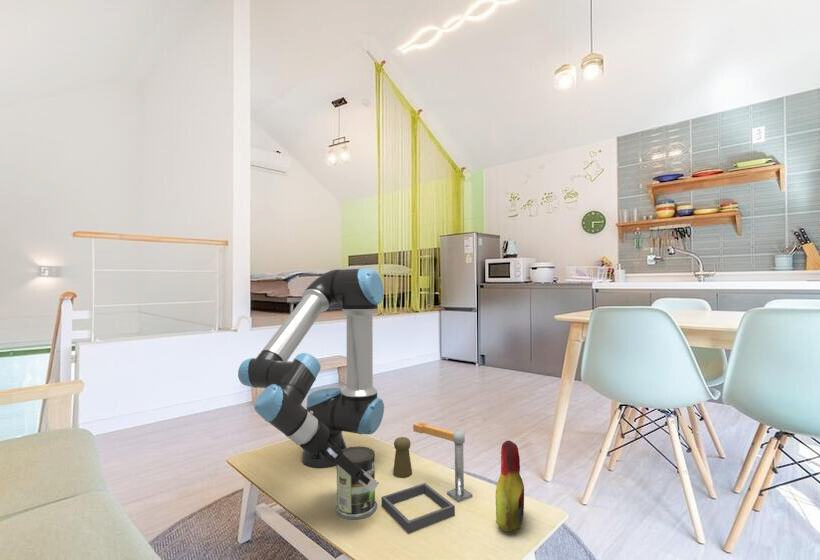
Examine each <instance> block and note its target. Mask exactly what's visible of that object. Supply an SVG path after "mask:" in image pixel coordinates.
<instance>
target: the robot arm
mask: <svg viewBox="0 0 820 560" xmlns="http://www.w3.org/2000/svg"><path fill="white" fill-rule="evenodd" d="M384 293H385V290H384V282H383V280H382V278H381V276H380V275H379V273H378V272H377V271H376V270H374V269H371V268H352V269H349V268H347V269H333V270H332V269H331V270H329V271H327V272H325V273H323V274H322V275H320V276H318V277H317V278H316V279H314V280H313V281H312V282H311V283H310V284H309V285H308V286H307V287H306V289H305V290H304V291H303V293H302V294H301V295H302V296H301V297H302V299H301V300H300V302H299V303H298V304H297V305H296V307H294V309H293V310H292V311H291V313H290V314H289V315H288V317H287V318H286V319H285V320H284V322H283V323H282V324H281V326H280V327H279V328H278V329H277V330H276V332H275V333H274V335H273V336H271V339H270V340H269V341H268V342H267V344H266V345H265V346H264V348H263V349H262V350H261V351H260V353H258V355H257V357H251V358H247V359H245V360H243V361H242V362H241V364H240V365H239V367H238V369H237V370H238V371H237V377H238V379H239V382H240V384H242V385H243V386H246V387H250V388H251V387H252V388H255V389H258V388H260V389H263V390H262V391H261V392H260V394H259V395H258V396H257V398H256V399H255V402H254V406H253V408H254V411H255V412H256V414H258V415H259V417H261V418H262V419H263V420H264V421H265V422H266V423H269V424H270V425H271V426H273V427H275V429H277V430H278V431H280V432H281V433H283V434H284V435H285V437H286V438H288V439H289V440H290V441H292V442H293V443H294V444H295V445H297V446H298V447H300V448H301V449H303V450H302V453H301V455H302V458H301V461H302V463H303V464H304V465H305V464H306V465H305V466H307V465H308V466H307V467H310V466H311V467H310V468H319V467H322V468H328V467H333V466H334V467H335V466H337V464H338V465H339V466H340V467H341V468H342V469H343V470H345V471H346V472H347V473H348V474H349V475H351V476H352V477H353V478H354V480H353V482H354V483H355V482H356V481H358V482H359V483H361V484H362V485H363V486H364V487H366V488H367V489H368V490H370V491H371V492H372V493H373V491H374V490H376V488H377V487H378V485H379V483H380V482H378V481H377V480H376V479H373V478H372V477H371V476H370V475H368V474H367V473H366V472H365V471H363V470H362V469H360V468H359V467H357V466H356V465H355V464H354V463H353V462H352V461H350V460H349V459H348V458H347V457H346V456H345V455H343V451H342V450H343V449H345V448H347V445H346V442H345V440H344V436H343V434H342V433H343V432H346V433H353V434H358V435H367V436H368V435H373V434H374V433H375V432H376V431H377V430H378V429H379V428H380V426H381V423H382V421H383V419H384V414H385V402H384V400H383V399H382V398H381V397H378V390H377V389H376V387H374V385H373V384H374V383H373V382H374V381H373V378H374V377H373V373H374V372H373V364H374V363H373V362H374V361H373V357H374V356H373V354H374V353H373V352H374V351H373V343H374V342H373V337H374V336H373V315H374V313H375V312H376V311H377V310H378V305H380V304H381V303H382V302H383V300H384V299H383V297H384V295H385V294H384ZM336 304H339V305H340V304H341V310H342V311H343V312H344V313H345V316H346V386H345V388H344V389H343V390H342V389H341V388H339V387H329V388H327V387H326V388H322V389H318V390H315V391H313V392H311V393H309V391H310V390H311V388H312V386H313V384H314V382H316V380H317V377H318V376H319V373H320V371H321V363H320V361H319V360H318V358H316V357H315V356H314V355H312V354H310V353H307V352H301V353H299V354H297V355H296V356H295V357H294V358H293V360H292V361H290V360H289V359H290V358H291V356H292V355H293V354H294V352H295V351H296V350H297V348H298V346H299V345H300V344H301V342H302V341H303V339H304V337H306V335H307V333H308V332H309V331H310V329H311V328H312V327H313V325H314V324H315V322H316V321H317V319H318V318H319V317H320V316H321V314H322V313H324V312H326V311H327V310H329V308H330V306H333V305H336ZM308 393H309V395H308ZM306 397H307V398H306ZM305 398H306V399H307V400H306V408H305V407H304V406H303V405H302V403H303V402H304V400H305ZM319 469H320V468H319Z"/></svg>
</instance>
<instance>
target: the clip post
mask: <svg viewBox="0 0 820 560" xmlns="http://www.w3.org/2000/svg"><path fill="white" fill-rule="evenodd" d="M464 465H465V464H464V443H462V444H456V443H454V481H455V483H454V484H455V485H454V486H455V487H454V488H453V489H451V490H447V491H446V495H448V496H449V497H450V498H452V500H454V501H456V502H457V503H460V502H463V501H465V500H468V499H471V498H473V494H472V493H471V492H470V491H468V490H467V489H465V486H464V485H465V484H464V483H465V477H464V475H465V474H464V473H465V471H464V470H465V467H464Z"/></svg>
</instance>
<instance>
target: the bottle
mask: <svg viewBox="0 0 820 560" xmlns="http://www.w3.org/2000/svg"><path fill="white" fill-rule="evenodd" d="M520 464H521V461H520V453H519V447H518V445H517V444H516V443H515V442H513V441H512V440H506V441H504V442H503V443H502V444H501V450H500V475H499V478H498V480H497V483H496V487H495V523H496V525H497V526H498V527H499V528H500V529H502V530H503V531H505V532H517V531H518V530H520V528H521V526H522V522H523V519H524V513H525V511H524V509H525V486H524V481H523V478H522V477H521V474H520V471H521V465H520Z"/></svg>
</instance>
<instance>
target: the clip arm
mask: <svg viewBox="0 0 820 560" xmlns="http://www.w3.org/2000/svg"><path fill="white" fill-rule="evenodd" d="M412 426H413V427H412V428H413V432H415V433H418V434H425V435H429V436H433V437H435V438H440V439H444V440H446V441H450V442H453V444H455V443H456V444H462V443H463V444H465V441H466V440H465V439H466V437H465V436H466V435H465V431H463V430H461V429H459V430H458V429H457V430H456V429H455V430H454V431H452V430H449V429H445V428H443V427H442V428H441V427H437V426H434V425H431V424H429V423H426V422H422V421H418V422H416V423H413V425H412Z"/></svg>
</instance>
